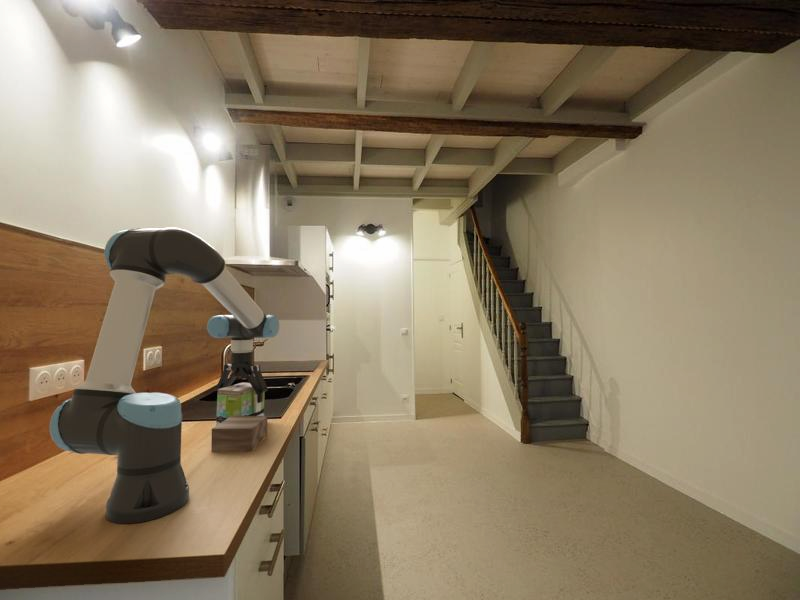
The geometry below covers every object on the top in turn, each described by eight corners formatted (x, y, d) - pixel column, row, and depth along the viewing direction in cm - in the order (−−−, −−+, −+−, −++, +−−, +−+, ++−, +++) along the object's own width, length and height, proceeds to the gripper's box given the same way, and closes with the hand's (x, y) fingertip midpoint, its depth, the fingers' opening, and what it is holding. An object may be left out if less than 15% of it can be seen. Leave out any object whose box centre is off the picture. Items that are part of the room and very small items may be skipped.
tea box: (241, 434, 134) (241, 390, 135) (215, 432, 136) (215, 389, 137) (264, 421, 149) (265, 382, 149) (241, 420, 151) (241, 381, 151)
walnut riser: (251, 452, 118) (252, 428, 118) (211, 452, 118) (211, 428, 118) (267, 437, 132) (267, 416, 132) (231, 437, 132) (231, 415, 132)
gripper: (277, 351, 143) (277, 410, 143) (221, 349, 151) (220, 405, 150) (265, 353, 136) (264, 415, 136) (206, 351, 143) (205, 410, 143)
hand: (241, 410), depth 143 cm, fingers open, 13 cm apart
